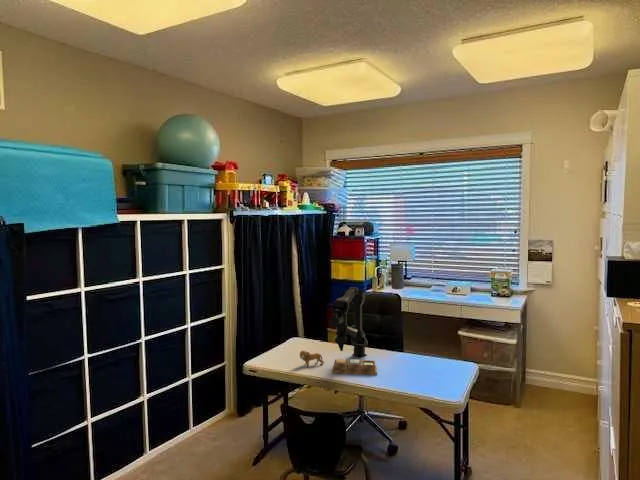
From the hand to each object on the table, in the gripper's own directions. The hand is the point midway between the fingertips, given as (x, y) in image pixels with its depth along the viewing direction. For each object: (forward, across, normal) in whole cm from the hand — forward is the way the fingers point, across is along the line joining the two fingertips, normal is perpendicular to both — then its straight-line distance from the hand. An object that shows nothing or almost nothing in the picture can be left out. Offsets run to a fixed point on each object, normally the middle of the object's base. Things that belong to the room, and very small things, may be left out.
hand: (341, 350), depth 242 cm
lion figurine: (+11, +7, +17) cm, 22 cm away
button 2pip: (+9, 0, -15) cm, 17 cm away
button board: (+11, 0, -7) cm, 13 cm away
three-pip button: (+8, 0, 0) cm, 8 cm away
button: (+8, 0, -7) cm, 10 cm away
